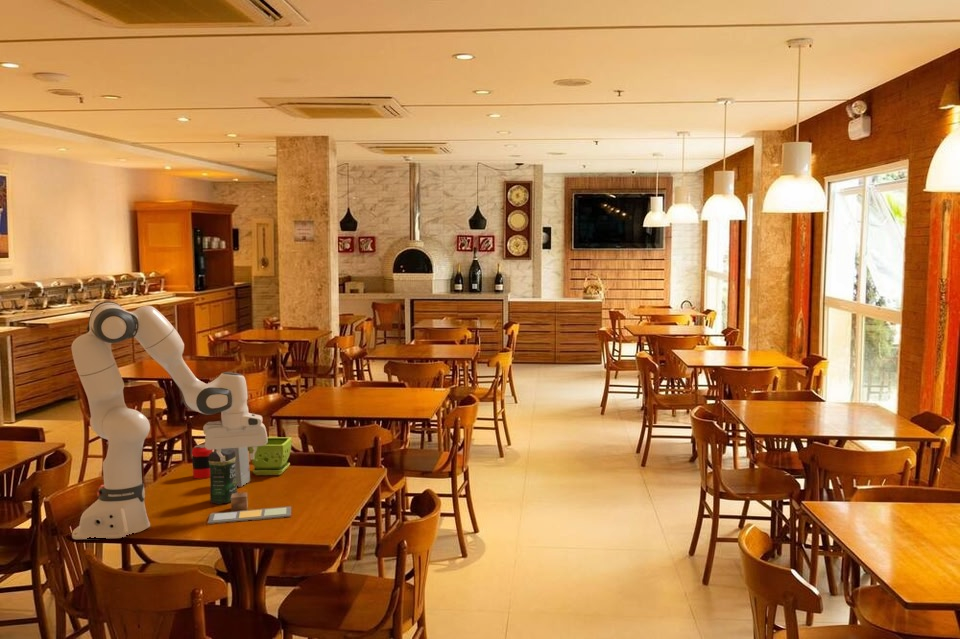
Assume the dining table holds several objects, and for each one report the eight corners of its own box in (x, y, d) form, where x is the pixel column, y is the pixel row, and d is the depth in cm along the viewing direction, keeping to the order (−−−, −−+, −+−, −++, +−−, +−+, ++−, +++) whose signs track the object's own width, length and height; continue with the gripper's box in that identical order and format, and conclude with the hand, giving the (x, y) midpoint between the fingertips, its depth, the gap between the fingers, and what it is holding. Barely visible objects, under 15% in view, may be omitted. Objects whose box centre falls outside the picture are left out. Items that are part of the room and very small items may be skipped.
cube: (231, 512, 281) (230, 497, 281) (232, 508, 286) (231, 493, 286) (247, 511, 282) (246, 496, 282) (247, 506, 287) (247, 492, 287)
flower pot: (248, 477, 325) (247, 445, 324) (259, 468, 339) (258, 437, 338) (284, 476, 325) (283, 444, 324) (294, 467, 339) (292, 436, 338)
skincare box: (241, 487, 311) (239, 445, 310) (223, 487, 312) (221, 445, 311) (251, 481, 319) (249, 440, 318) (233, 481, 320) (231, 440, 319)
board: (207, 524, 269) (207, 522, 269) (210, 515, 278) (210, 512, 278) (290, 517, 274) (290, 514, 274) (291, 508, 284) (291, 505, 284)
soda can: (189, 478, 326) (187, 447, 326) (202, 473, 333) (200, 443, 332) (204, 479, 324) (202, 448, 323) (217, 474, 330) (216, 444, 330)
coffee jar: (228, 505, 289) (226, 451, 288) (207, 504, 290) (204, 451, 289) (241, 496, 299) (238, 445, 297) (220, 496, 300) (217, 445, 299)
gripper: (201, 424, 276) (204, 465, 278) (265, 419, 281) (268, 460, 282) (203, 420, 283) (206, 460, 284) (266, 415, 287) (268, 455, 288)
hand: (237, 460), depth 283 cm, fingers open, 8 cm apart
